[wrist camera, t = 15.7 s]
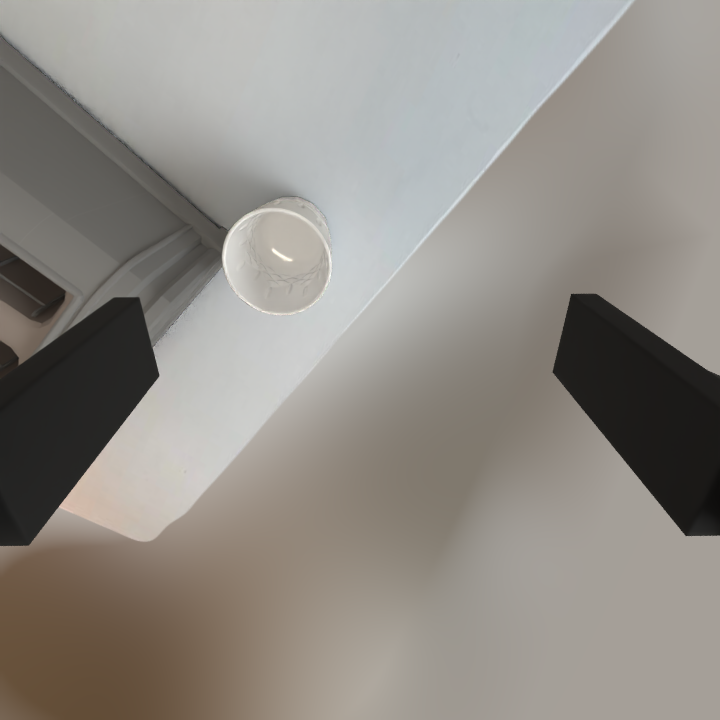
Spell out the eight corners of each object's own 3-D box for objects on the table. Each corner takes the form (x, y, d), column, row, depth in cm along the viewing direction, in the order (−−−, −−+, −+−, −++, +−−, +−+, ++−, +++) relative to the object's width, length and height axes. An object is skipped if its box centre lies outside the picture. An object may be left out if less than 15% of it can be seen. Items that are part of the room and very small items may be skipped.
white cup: (237, 202, 39) (203, 224, 30) (322, 178, 38) (313, 194, 29) (267, 284, 43) (245, 326, 34) (345, 264, 42) (344, 301, 33)
